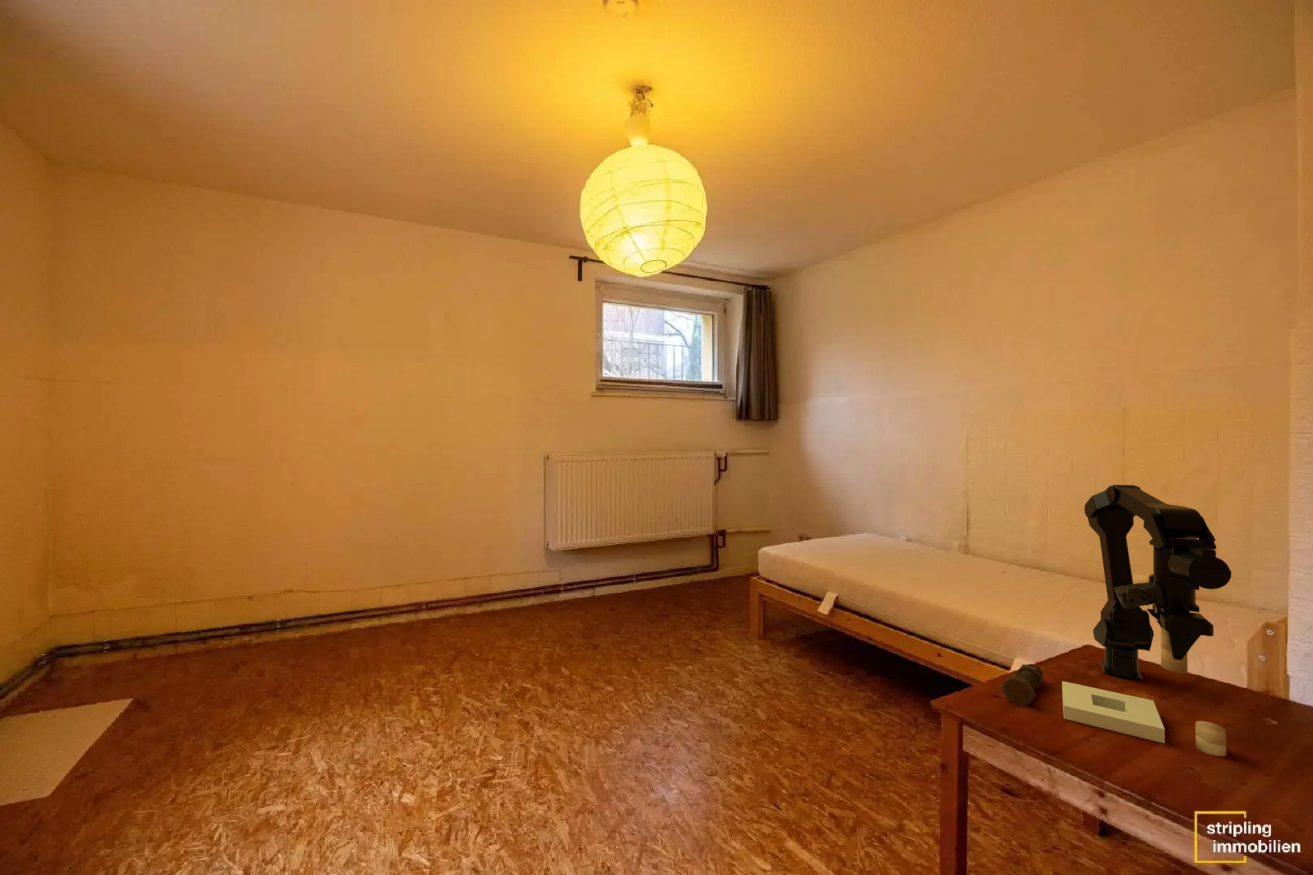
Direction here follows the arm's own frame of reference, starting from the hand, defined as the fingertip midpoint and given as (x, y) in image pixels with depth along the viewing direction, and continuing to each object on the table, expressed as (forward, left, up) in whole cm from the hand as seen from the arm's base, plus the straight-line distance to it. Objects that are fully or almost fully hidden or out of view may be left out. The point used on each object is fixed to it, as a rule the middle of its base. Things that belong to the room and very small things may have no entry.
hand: (1174, 655), depth 100 cm
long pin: (0, 0, -2) cm, 2 cm away
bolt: (+3, -23, -12) cm, 26 cm away
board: (+6, -10, -12) cm, 17 cm away
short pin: (+10, +3, -12) cm, 16 cm away
